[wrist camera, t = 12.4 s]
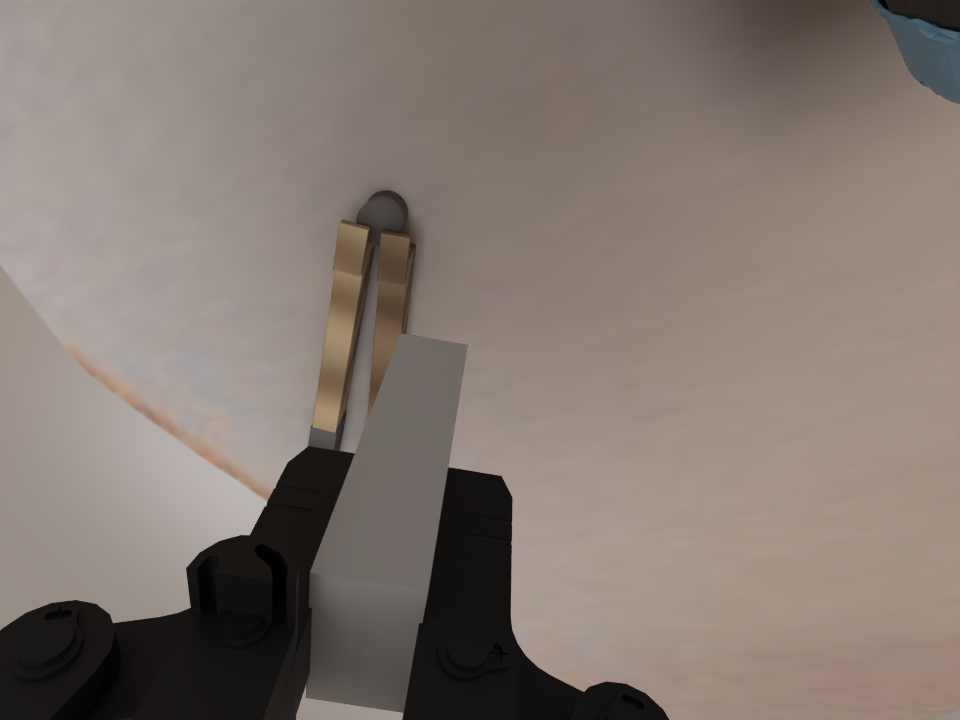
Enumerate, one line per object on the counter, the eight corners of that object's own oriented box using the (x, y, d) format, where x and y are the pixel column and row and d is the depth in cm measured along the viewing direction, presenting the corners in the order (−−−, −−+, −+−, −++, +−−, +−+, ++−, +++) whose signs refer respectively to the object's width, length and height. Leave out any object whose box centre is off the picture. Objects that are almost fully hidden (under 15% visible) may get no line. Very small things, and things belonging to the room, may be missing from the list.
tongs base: (367, 187, 40) (353, 202, 37) (422, 197, 40) (413, 213, 37) (349, 458, 52) (337, 489, 48) (391, 465, 52) (382, 497, 48)
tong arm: (352, 206, 40) (338, 222, 37) (381, 214, 41) (369, 230, 37) (315, 452, 51) (301, 481, 48) (338, 457, 51) (326, 486, 48)
